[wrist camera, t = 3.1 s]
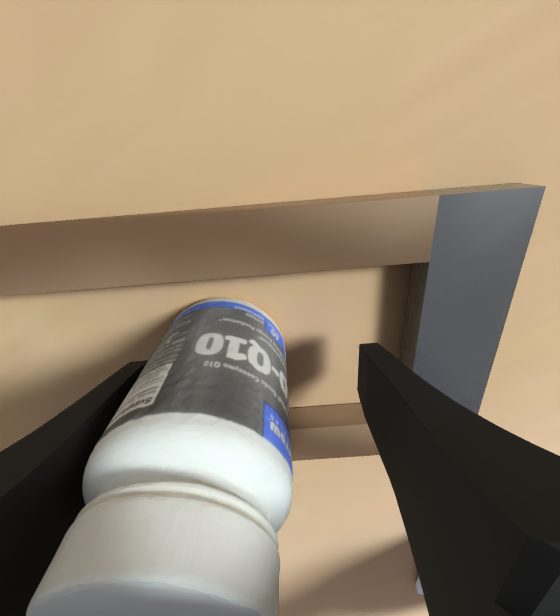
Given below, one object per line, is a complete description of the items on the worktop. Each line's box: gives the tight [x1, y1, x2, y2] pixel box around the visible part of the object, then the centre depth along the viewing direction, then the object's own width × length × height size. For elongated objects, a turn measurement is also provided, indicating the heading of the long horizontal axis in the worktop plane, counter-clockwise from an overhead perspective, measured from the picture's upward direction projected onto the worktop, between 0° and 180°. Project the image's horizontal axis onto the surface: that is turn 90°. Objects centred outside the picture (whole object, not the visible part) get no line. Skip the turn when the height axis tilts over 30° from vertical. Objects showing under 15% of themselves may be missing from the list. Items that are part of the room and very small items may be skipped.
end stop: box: [400, 183, 546, 415], centre depth 12 cm, size 11×3×1 cm, turn 4°
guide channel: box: [0, 191, 440, 461], centre depth 12 cm, size 11×15×1 cm
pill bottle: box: [26, 298, 293, 616], centre depth 9 cm, size 5×5×8 cm
